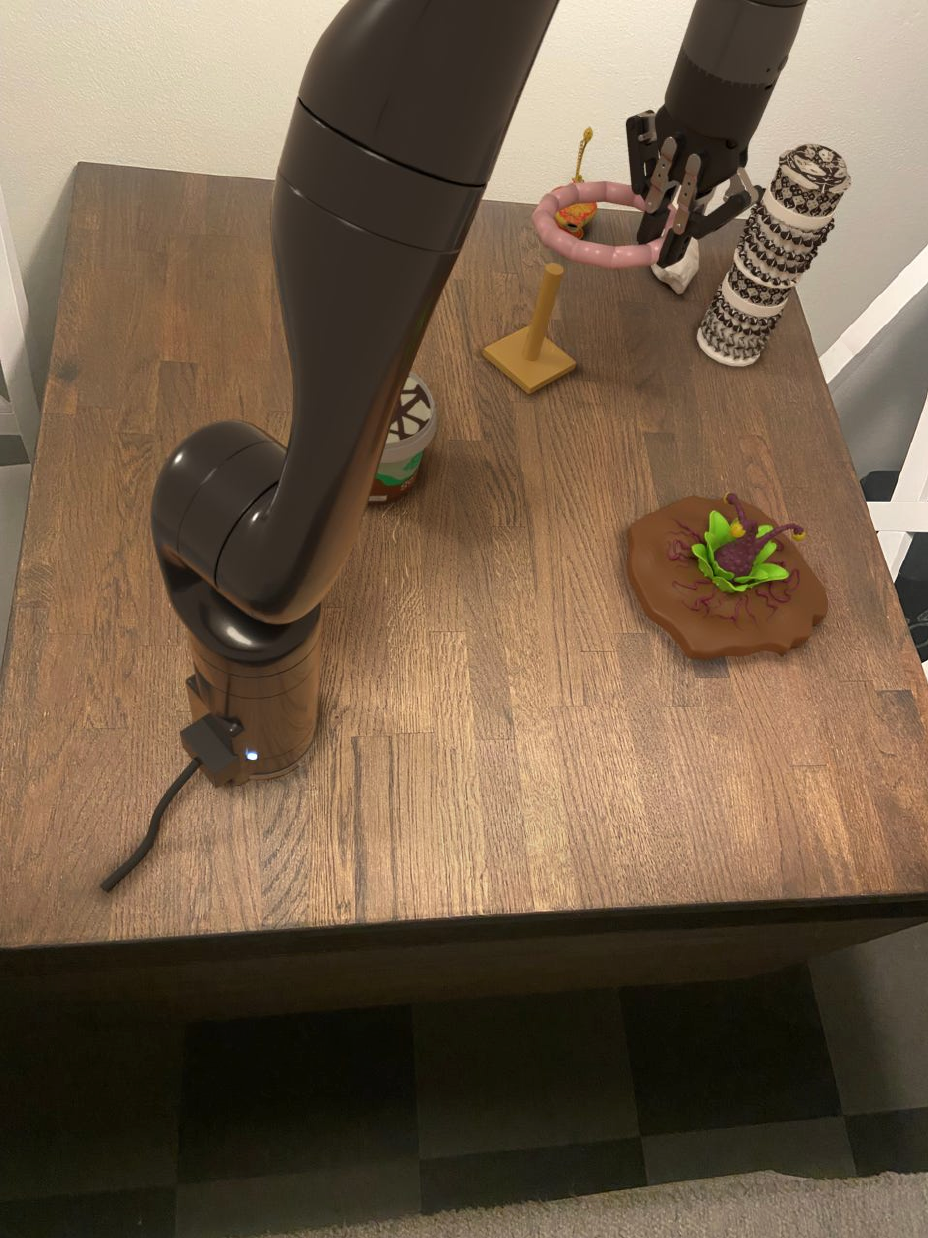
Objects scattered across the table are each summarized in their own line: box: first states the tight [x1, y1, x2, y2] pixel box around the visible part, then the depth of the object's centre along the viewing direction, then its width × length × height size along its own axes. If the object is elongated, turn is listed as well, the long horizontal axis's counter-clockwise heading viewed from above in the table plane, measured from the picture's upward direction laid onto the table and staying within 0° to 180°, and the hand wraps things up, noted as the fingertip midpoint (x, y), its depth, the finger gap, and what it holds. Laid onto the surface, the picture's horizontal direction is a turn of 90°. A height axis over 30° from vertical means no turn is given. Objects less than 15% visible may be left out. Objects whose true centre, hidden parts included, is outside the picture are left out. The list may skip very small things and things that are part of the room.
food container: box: [367, 370, 438, 506], centre depth 92 cm, size 12×6×10 cm, turn 168°
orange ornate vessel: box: [550, 126, 598, 240], centre depth 120 cm, size 7×18×11 cm, turn 172°
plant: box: [626, 491, 829, 661], centre depth 90 cm, size 20×20×11 cm
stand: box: [481, 262, 577, 395], centre depth 104 cm, size 8×8×13 cm
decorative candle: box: [696, 143, 852, 367], centre depth 107 cm, size 9×9×25 cm
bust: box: [650, 197, 700, 295], centre depth 120 cm, size 12×8×11 cm
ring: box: [531, 180, 677, 270], centre depth 83 cm, size 14×14×2 cm
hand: (656, 256), depth 81 cm, fingers closed on ring, 2 cm apart
